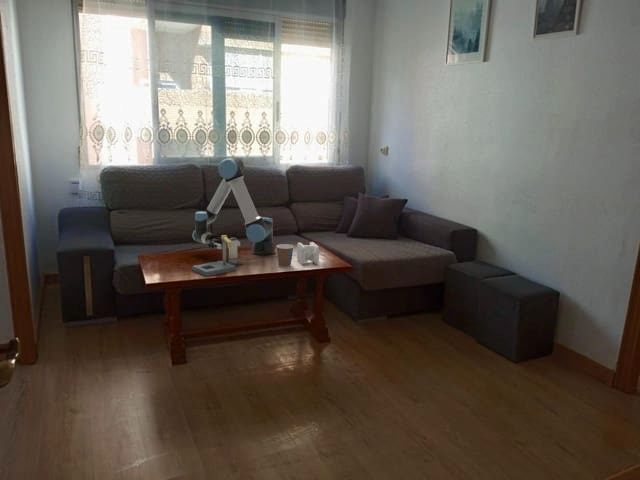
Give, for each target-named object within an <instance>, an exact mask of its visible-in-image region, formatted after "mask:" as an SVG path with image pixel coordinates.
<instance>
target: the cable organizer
mask: <svg viewBox="0 0 640 480" xmlns="http://www.w3.org/2000/svg"><path fill="white" fill-rule="evenodd" d="M296 247H297V250H296V252H297V253H296V256H297V257H296V258H297V261H298V262H299V263H300V264H301V265H302V266H305V265H306V263H309V262H308V261H311V262H312V263H313V264H314V265H317V264H319V260H320V259H319V258H320V257H319V256H320V246H318V244H316V243H315V242H313V241H310V242H309V245H306V244H305V245H304V244H303V243H302V242H297V245H296Z"/></svg>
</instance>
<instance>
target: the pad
mask: <svg viewBox="0 0 640 480" xmlns="http://www.w3.org/2000/svg"><path fill="white" fill-rule="evenodd" d="M226 263H228V264H230V263H229V261H226ZM231 265H234V266H236V267H238V266H239V267H240V266H243V265H244V263H243V262H240V261H238V263H237V264H231Z"/></svg>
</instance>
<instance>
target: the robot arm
mask: <svg viewBox="0 0 640 480" xmlns="http://www.w3.org/2000/svg"><path fill="white" fill-rule="evenodd" d="M217 169H218V174H219V176H220V177H222V178H223V179H222V181H220V183H219V186H218V187H217V189H216V191H215V193H214V195H213V197H212V198H211V200H210V203H209V204H208V206H207V207H206V210H205V211H196V212H195V215H194V224H195V225H194V226H195V227H194V228H195V230H193V232H192V235H191V237H192V239H193V240H194V241H196V242H197V243H201V244H204V245H206V246H207V247H208V248H211V249H213V250H214V248H215V249H218V250H222V245H223V240H222V239H221V237H219V236H218V235H217V234H216V233H211V232H208V227H209V226H208V225H210V224H212V223H214V222H215V221H216V219H217V218H218V217H217V215H218V213H219V212H220V210H221V208H222V206H223V205H224V203H225V200H226V199H227V198H228V196H229V194H230V193H231V190H232V193H233V195H234V198H235V201H236V202H237V204H238V207H239V210H240V211H241V213H242V216H243V218H244V220H245V222H244V226H245V229H246V231H245V233H246V234H245V235H246V237H247V239H248V240H249V241H251V242H252V243H253V244H252V247H251V254H253V255H259V256H268V255H274V254H275V253H276V249H275V248H276V247H275V244H274V241H273V234H274V233H273V230H274V222H273V218H272V217H271V218H270V217H263V216H260V215H259V213H258V211H257V210H256V209H257V208H256V206H255V205H254V202H253V200H252V198H251V195H250V193H249V191H248V188H247V186H246V184H245V181H244V177H245V175H244V173H243V172H244V171H245V165H244V162H243V161H242V160H241V158H238V157H227V158H225V159H223V160H221V162H220V163H219V164H218V168H217ZM227 238H228V239H230V238H231V237H227ZM226 244H228V243H227V242H226ZM240 246H241V241H239V240H237V247H240Z"/></svg>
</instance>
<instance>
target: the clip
mask: <svg viewBox="0 0 640 480" xmlns="http://www.w3.org/2000/svg"><path fill="white" fill-rule="evenodd" d="M220 238H221V239H222V240H225V241H226V242H227V243H226V244H227V248H228V249H229V248H231V241H230V240H229V239H228V238H229V237H228V235H227V234H223V235H221V236H220Z"/></svg>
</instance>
